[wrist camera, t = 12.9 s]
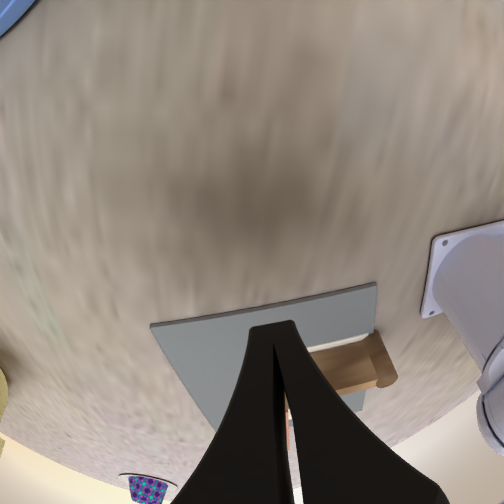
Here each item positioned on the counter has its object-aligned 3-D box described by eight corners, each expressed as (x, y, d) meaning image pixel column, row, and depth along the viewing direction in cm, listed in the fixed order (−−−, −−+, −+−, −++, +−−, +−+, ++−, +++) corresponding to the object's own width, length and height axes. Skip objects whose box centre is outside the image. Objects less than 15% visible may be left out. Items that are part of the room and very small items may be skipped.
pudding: (108, 473, 45) (104, 494, 41) (142, 469, 42) (139, 494, 37) (152, 490, 51) (151, 509, 46) (190, 486, 47) (189, 508, 43)
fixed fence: (379, 327, 24) (399, 371, 20) (377, 341, 25) (396, 383, 21) (261, 353, 25) (265, 402, 21) (264, 366, 26) (269, 413, 21)
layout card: (375, 282, 21) (377, 286, 21) (361, 407, 31) (362, 410, 31) (150, 324, 22) (149, 329, 22) (218, 432, 32) (218, 435, 32)
